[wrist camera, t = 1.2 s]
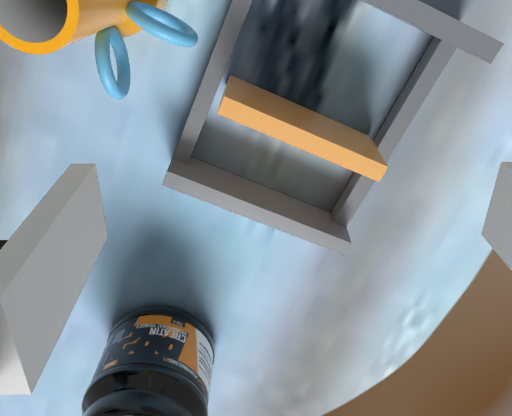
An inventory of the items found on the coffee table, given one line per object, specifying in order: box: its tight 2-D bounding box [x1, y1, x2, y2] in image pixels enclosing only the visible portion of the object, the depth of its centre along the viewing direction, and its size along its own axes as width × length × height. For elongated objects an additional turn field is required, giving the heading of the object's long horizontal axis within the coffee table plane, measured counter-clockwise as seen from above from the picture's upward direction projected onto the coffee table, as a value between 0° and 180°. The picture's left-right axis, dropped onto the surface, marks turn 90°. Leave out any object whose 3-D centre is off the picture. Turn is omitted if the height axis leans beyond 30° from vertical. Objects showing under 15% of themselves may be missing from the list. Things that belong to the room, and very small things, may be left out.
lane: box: [162, 0, 504, 255], centre depth 32 cm, size 15×18×7 cm
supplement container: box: [82, 307, 215, 416], centre depth 42 cm, size 10×10×12 cm
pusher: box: [217, 75, 388, 182], centre depth 33 cm, size 12×1×6 cm, turn 66°
